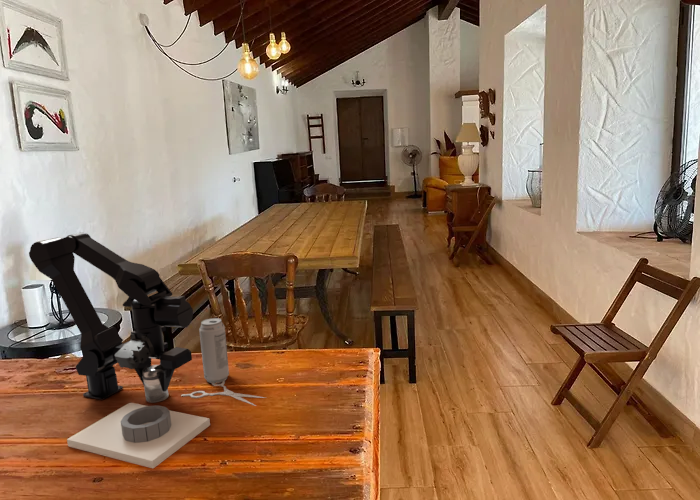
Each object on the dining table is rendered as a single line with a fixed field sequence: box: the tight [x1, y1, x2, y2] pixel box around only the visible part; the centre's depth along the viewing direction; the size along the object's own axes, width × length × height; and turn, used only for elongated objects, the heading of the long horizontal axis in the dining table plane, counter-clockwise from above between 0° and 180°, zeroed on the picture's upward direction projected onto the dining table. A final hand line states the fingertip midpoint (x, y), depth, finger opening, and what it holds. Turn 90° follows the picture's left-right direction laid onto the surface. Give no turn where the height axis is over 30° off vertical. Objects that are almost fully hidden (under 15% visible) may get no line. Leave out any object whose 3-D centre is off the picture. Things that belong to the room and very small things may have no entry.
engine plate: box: [66, 402, 211, 469], centre depth 107 cm, size 22×16×4 cm
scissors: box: [180, 380, 266, 407], centre depth 124 cm, size 11×1×20 cm
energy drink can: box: [198, 317, 230, 384], centre depth 131 cm, size 6×6×15 cm
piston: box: [142, 364, 169, 404], centre depth 123 cm, size 5×5×7 cm
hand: (156, 389), depth 124 cm, fingers closed on piston, 5 cm apart
